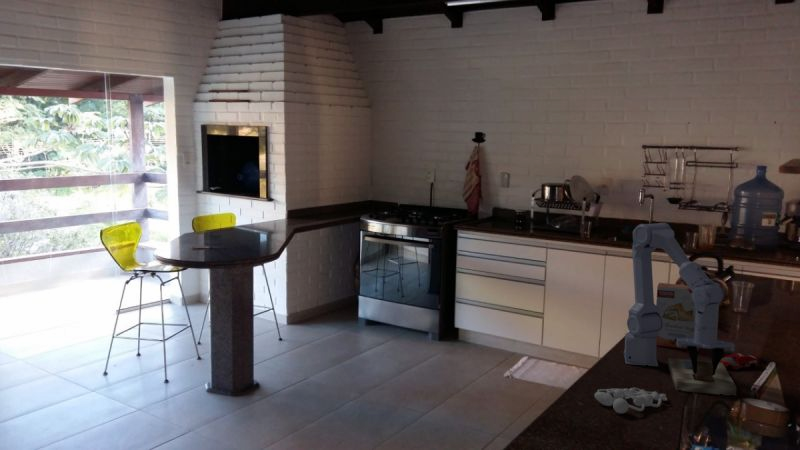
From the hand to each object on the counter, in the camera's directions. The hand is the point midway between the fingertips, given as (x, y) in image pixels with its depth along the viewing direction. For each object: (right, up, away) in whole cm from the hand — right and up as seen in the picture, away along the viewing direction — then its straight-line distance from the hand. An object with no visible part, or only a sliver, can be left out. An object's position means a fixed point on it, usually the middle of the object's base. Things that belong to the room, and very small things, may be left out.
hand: (703, 373), depth 179 cm
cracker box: (+8, +1, +35) cm, 36 cm away
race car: (+18, -2, +16) cm, 24 cm away
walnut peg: (0, -4, 0) cm, 4 cm away
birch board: (+1, -3, +5) cm, 6 cm away
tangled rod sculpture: (-25, -6, -10) cm, 27 cm away
